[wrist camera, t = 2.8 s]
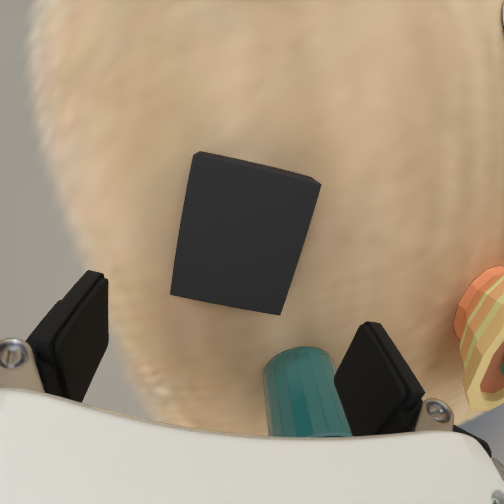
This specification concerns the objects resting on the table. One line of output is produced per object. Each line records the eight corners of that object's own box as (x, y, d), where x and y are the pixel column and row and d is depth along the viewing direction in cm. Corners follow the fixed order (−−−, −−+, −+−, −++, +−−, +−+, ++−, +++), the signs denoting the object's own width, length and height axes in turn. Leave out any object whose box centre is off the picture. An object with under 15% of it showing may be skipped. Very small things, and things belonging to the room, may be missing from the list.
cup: (345, 350, 25) (377, 430, 17) (319, 398, 28) (338, 474, 19) (274, 342, 25) (288, 431, 16) (255, 393, 27) (260, 475, 19)
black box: (311, 177, 20) (321, 184, 17) (276, 296, 23) (280, 315, 21) (199, 151, 19) (193, 154, 16) (176, 276, 22) (169, 294, 20)
